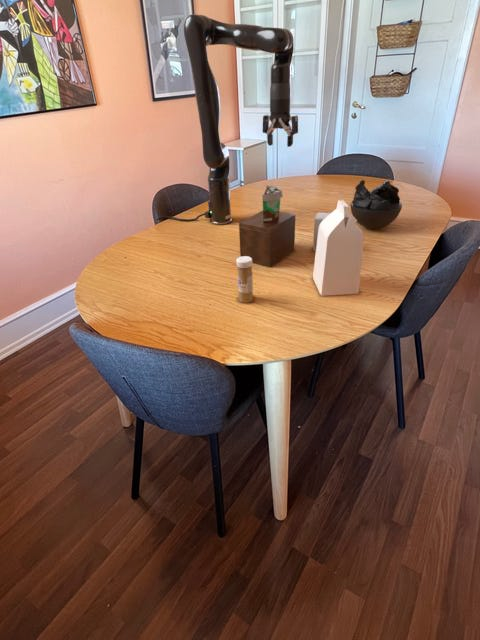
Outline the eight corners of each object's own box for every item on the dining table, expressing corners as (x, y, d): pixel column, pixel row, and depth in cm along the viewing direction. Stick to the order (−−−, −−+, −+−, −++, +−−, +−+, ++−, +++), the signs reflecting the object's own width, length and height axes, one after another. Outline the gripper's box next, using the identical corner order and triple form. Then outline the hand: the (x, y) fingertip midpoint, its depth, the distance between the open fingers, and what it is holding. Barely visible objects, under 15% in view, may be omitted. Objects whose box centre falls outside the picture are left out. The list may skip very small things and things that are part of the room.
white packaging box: (334, 245, 147) (337, 213, 140) (332, 252, 142) (335, 219, 135) (315, 243, 150) (317, 211, 143) (312, 251, 144) (314, 218, 137)
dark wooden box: (240, 259, 140) (238, 222, 133) (265, 243, 152) (265, 209, 144) (270, 267, 134) (270, 229, 126) (294, 250, 145) (295, 214, 137)
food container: (280, 225, 129) (281, 195, 123) (262, 224, 130) (262, 195, 124) (283, 213, 139) (284, 185, 133) (266, 213, 140) (266, 185, 134)
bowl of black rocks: (408, 228, 158) (417, 181, 148) (374, 240, 150) (382, 191, 139) (370, 216, 173) (376, 173, 162) (338, 226, 164) (342, 181, 154)
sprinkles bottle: (235, 300, 116) (233, 259, 109) (245, 294, 119) (243, 254, 111) (247, 304, 114) (245, 263, 106) (256, 298, 116) (255, 257, 109)
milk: (312, 277, 126) (318, 198, 112) (347, 275, 126) (356, 196, 112) (321, 295, 116) (328, 211, 101) (358, 293, 116) (370, 208, 102)
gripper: (302, 96, 137) (300, 145, 146) (269, 96, 144) (269, 143, 153) (292, 98, 132) (291, 148, 141) (258, 98, 139) (259, 146, 148)
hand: (279, 145), depth 147 cm, fingers open, 8 cm apart
